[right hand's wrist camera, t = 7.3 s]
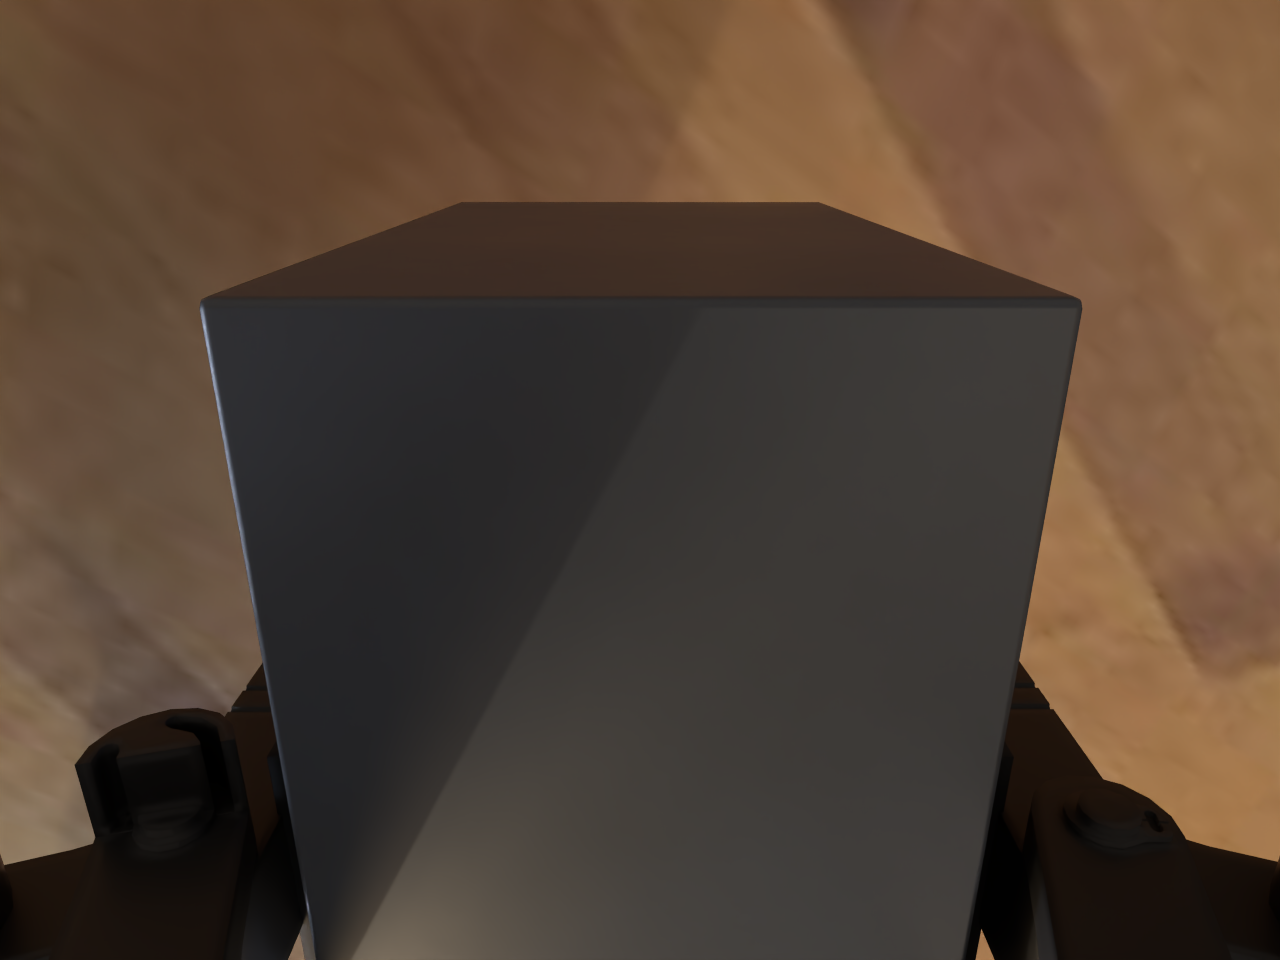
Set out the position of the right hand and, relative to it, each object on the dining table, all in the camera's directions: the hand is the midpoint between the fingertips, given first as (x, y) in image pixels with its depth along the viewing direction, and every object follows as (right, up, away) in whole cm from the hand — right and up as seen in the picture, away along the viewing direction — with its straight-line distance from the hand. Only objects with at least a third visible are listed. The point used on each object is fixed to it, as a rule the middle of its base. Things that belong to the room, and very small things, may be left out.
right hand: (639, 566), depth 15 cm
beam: (0, -18, +8) cm, 20 cm away
